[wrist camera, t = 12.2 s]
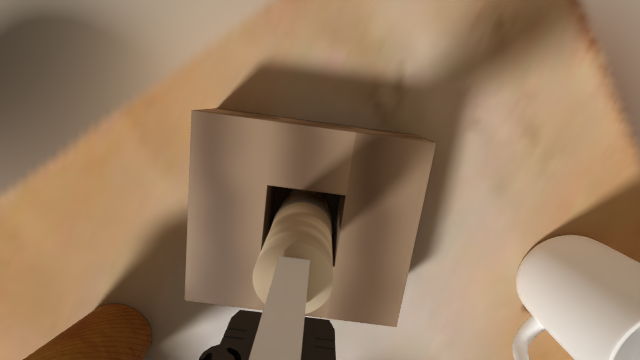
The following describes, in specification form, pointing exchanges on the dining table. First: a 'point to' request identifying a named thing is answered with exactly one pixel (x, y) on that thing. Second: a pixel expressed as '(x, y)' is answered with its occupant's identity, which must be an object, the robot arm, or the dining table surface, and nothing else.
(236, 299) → the board
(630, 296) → the cup
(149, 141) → the dining table surface
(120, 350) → the disposable coffee cup
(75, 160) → the dining table surface
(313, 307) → the peg
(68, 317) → the dining table surface
